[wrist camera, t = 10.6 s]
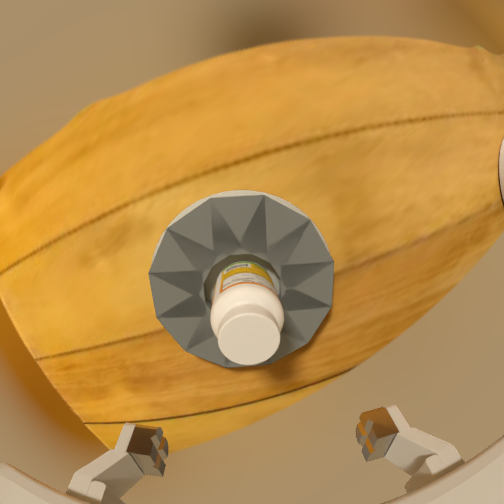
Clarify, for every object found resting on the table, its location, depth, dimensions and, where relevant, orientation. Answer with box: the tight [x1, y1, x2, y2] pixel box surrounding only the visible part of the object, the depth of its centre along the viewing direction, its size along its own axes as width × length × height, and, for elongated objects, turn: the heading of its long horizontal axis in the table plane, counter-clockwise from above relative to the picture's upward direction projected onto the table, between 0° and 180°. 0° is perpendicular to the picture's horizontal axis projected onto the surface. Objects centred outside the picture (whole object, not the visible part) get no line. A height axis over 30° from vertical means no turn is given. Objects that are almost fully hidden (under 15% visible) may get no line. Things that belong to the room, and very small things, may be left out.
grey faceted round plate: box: [149, 190, 334, 368], centre depth 26 cm, size 18×18×2 cm
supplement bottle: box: [210, 261, 284, 365], centre depth 21 cm, size 5×5×10 cm
